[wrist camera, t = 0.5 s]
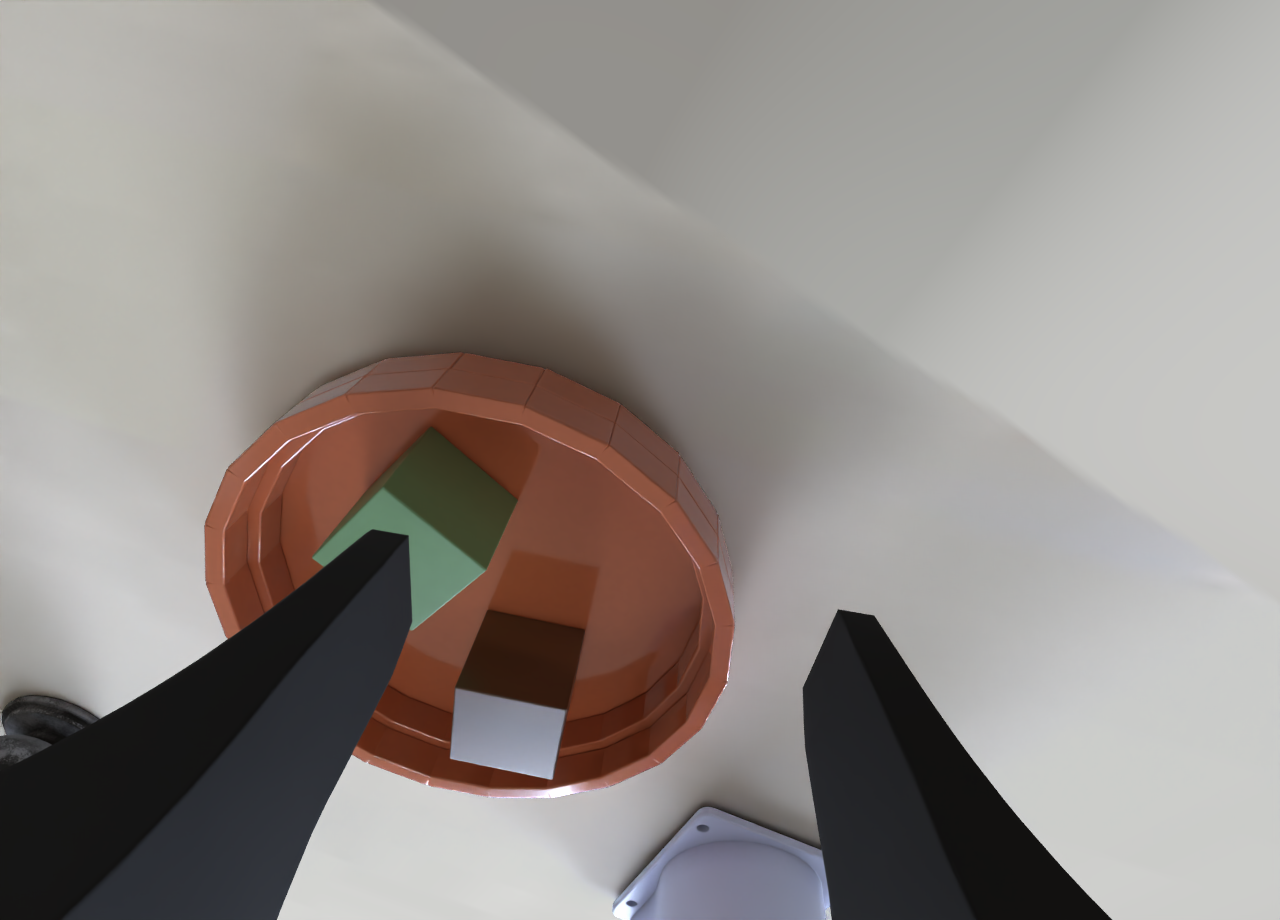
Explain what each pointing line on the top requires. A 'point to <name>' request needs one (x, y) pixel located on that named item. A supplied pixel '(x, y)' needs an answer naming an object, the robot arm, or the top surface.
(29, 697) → the dark grey tiered piece
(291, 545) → the bowl
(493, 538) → the sage-green cube
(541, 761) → the walnut cube
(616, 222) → the top surface
